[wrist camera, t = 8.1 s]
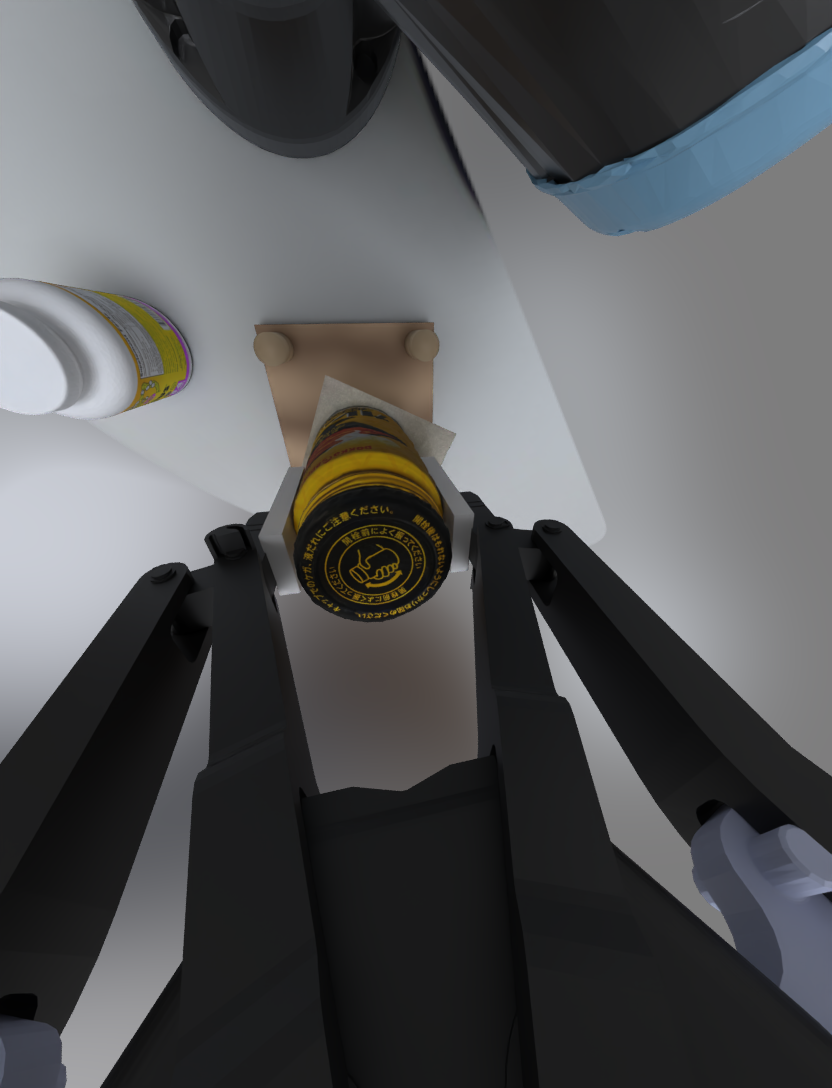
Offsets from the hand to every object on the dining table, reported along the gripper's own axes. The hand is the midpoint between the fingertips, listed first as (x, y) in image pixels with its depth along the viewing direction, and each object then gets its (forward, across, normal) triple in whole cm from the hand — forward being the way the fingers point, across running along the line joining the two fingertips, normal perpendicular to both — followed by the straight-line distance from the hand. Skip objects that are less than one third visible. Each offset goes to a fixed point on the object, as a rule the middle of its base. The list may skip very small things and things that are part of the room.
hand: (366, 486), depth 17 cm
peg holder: (+16, 0, 0) cm, 16 cm away
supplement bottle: (+17, -16, +6) cm, 24 cm away
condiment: (+4, +1, 0) cm, 4 cm away
